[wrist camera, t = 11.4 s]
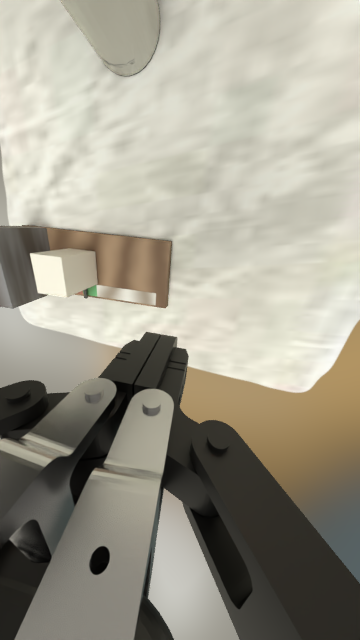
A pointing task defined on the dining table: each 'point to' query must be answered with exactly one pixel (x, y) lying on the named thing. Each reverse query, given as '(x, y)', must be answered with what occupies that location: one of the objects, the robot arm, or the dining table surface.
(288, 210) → the dining table surface
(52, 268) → the block
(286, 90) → the dining table surface
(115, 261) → the base
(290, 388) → the dining table surface
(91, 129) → the dining table surface
